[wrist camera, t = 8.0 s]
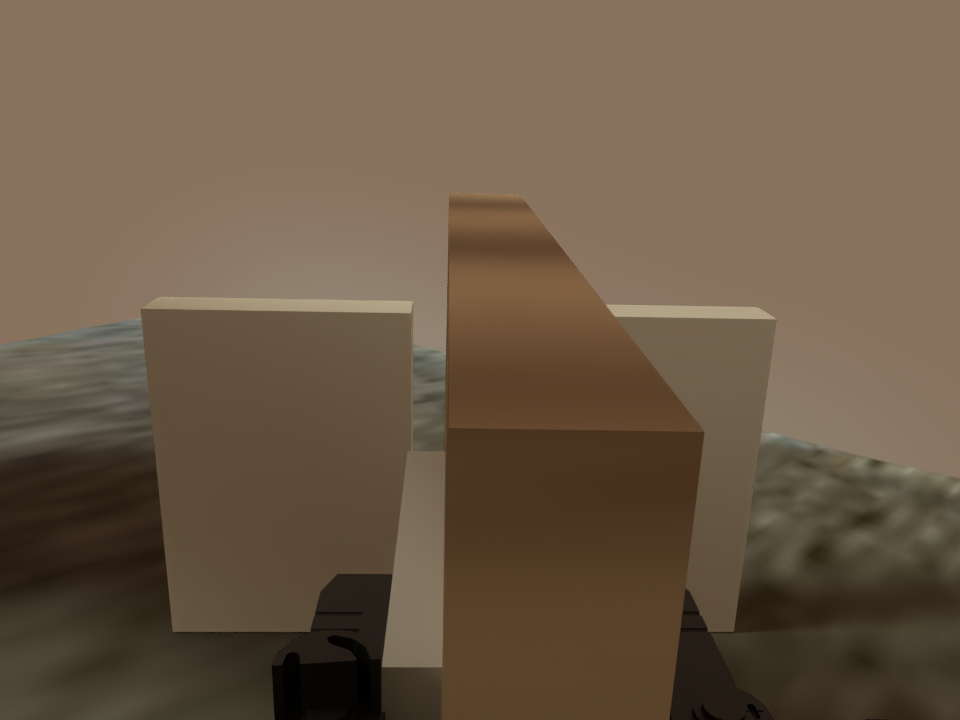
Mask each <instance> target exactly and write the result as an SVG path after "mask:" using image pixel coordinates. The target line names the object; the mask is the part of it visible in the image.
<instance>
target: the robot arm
mask: <svg viewBox="0 0 960 720" xmlns="http://www.w3.org/2000/svg"><path fill="white" fill-rule="evenodd" d="M444 493H445V452H438V451H408V452H407V460H406V469H405V477H404V485H403V494H402V502H401V511H400V519H399V527H398V536H397V544H396V552H395V561H394V569H393V574H337V575H336V576H335V577H334V578H333V579H332V580H331V581H330V582H329V583H328V584H327V585H326V586H325V587H324V588H323V589H322V590H321V591H320V595H319V599H318V603H317V607H316V610H315V616H314V618H313V622H312V626H311V632H310V633H308V634H305V635H303V636H301V637H299V638H296V639H294V640H292V641H290V642H289V643H288V644H287V645H286V646H285V647H284V648H282V649H281V650H280V651H279V652H278V654H277V656H276V658H275V660H274V662H273V664H272V678H273V696H274V714H275V720H441V703H442V646H443V570H444ZM669 720H774V719H773V717H772V715H771V714H770V712H769V711H768V709H767V708H766V706H765V705H763V704H762V703H761V702H760V701H758V700H757V699H756V698H755V697H753V696H752V695H751V694H749V693H747V692H745V691H742V690H740V689H738V688H737V687H736V684H735V682H734V680H733V678H732V676H731V674H730V672H729V670H728V668H727V666H726V664H725V662H724V660H723V658H722V656H721V654H720V652H719V650H718V648H717V646H716V644H715V642H714V640H713V638H712V636H711V634H710V632H708V628H707V626H706V624H705V622H704V619H703V617H702V616H700V611H699V609H698V607H697V605H696V603H695V601H694V599H693V597H692V595H691V593H690V591H689V590H687V589H686V588H685V596H684V604H683V612H682V620H681V628H680V636H679V645H678V653H677V661H676V669H675V677H674V685H673V693H672V702H671V710H670V718H669ZM866 720H885V719H866Z"/></svg>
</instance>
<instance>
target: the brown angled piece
mask: <svg viewBox="0 0 960 720" xmlns="http://www.w3.org/2000/svg"><path fill="white" fill-rule="evenodd" d="M446 344H447V345H446V390H445V442H444V452H445V493H444V570H443V646H442V703H441V720H669V718H670V710H671V702H672V693H673V685H674V677H675V669H676V661H677V653H678V645H679V636H680V628H681V620H682V612H683V604H684V596H685V588H686V580H687V571H688V563H689V555H690V547H691V539H692V531H693V523H694V514H695V506H696V498H697V490H698V482H699V474H700V466H701V457H702V449H703V441H704V433H705V432H704V430H703V429H702V428H701V427H700V425H699V424H698V423H697V421H696V420H695V419H694V418H693V416H692V415H691V414H690V412H689V411H688V410H687V409H686V407H685V406H684V405H683V403H682V402H681V401H680V400H679V398H678V397H677V396H676V394H675V393H674V392H673V391H672V389H671V388H670V387H669V385H668V384H667V383H666V382H665V380H664V379H663V378H662V377H661V375H660V374H659V373H658V371H657V370H656V369H655V368H654V366H653V365H652V364H651V362H650V361H649V360H648V359H647V357H646V356H645V355H644V353H643V352H642V351H641V350H640V348H639V347H638V346H637V344H636V343H635V342H634V341H633V339H632V338H631V337H630V335H629V334H628V333H627V332H626V330H625V329H624V328H623V326H622V325H621V324H620V323H619V321H618V320H617V319H616V317H615V316H614V315H613V314H612V312H611V311H610V310H609V308H608V307H607V306H606V305H605V303H604V302H603V301H602V299H600V297H599V296H598V294H597V293H596V292H595V290H594V289H593V288H592V287H591V285H590V284H589V283H588V282H587V280H586V279H585V278H584V276H583V275H582V274H581V273H580V271H579V270H578V269H577V267H576V266H575V265H574V264H573V262H572V261H571V260H570V258H569V257H568V256H567V255H566V253H565V252H564V251H563V249H562V248H561V247H560V246H559V244H558V243H557V242H556V240H555V239H554V238H553V237H552V235H551V234H550V233H549V232H548V230H547V229H546V228H545V226H544V225H543V224H542V222H541V221H540V220H539V219H538V217H537V216H536V215H535V213H534V212H533V211H532V210H531V208H530V207H529V206H528V205H527V203H526V202H525V201H524V200H523V198H522V197H521V195H515V194H514V195H513V194H479V193H449V235H448V287H447V339H446Z"/></svg>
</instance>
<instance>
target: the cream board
mask: <svg viewBox="0 0 960 720" xmlns="http://www.w3.org/2000/svg"><path fill="white" fill-rule="evenodd" d="M606 306H607V307H608V308H609V310H610V311H611V312H612V314H613V315H614V316H615V317H616V319H617V320H618V321H619V323H620V324H621V325H622V326H623V328H624V329H625V330H626V332H627V333H628V334H629V335H630V337H631V338H632V339H633V341H634V342H635V343H636V344H637V346H638V347H639V348H640V350H641V351H642V352H643V353H644V355H645V356H646V357H647V359H648V360H649V361H650V362H651V364H652V365H653V366H654V368H655V369H656V370H657V371H658V373H659V374H660V375H661V377H662V378H663V379H664V380H665V382H666V383H667V384H668V385H669V387H670V388H671V389H672V391H673V392H674V393H675V394H676V396H677V397H678V398H679V400H680V401H681V402H682V403H683V405H684V406H685V407H686V409H687V410H688V411H689V412H690V414H691V415H692V416H693V418H694V419H695V420H696V421H697V423H698V424H699V425H700V427H701V428H702V429H703V430H704V432H705V433H704V441H703V449H702V457H701V466H700V474H699V482H698V490H697V498H696V506H695V514H694V523H693V531H692V539H691V547H690V555H689V563H688V571H687V580H686V589H687V590H689V591H690V593H691V595H692V597H693V599H694V601H695V603H696V605H697V607H698V609H699V611H700V616H702V617H703V619H704V622H705V624H706V626H707V628H708V632H734V626H735V619H736V611H737V604H738V597H739V589H740V582H741V575H742V568H743V560H744V553H745V546H746V539H747V531H748V524H749V517H750V509H751V502H752V495H753V488H754V480H755V473H756V466H757V458H758V451H759V444H760V437H761V429H762V421H763V415H764V407H765V400H766V392H767V386H768V378H769V371H770V363H771V357H772V349H773V341H774V335H775V327H776V319H775V318H774V317H772V316H771V315H769V314H768V313H766V312H764V311H763V310H761V309H759V308H758V307H717V306H659V305H658V306H657V305H606ZM141 316H142V327H143V337H144V347H145V357H146V368H147V378H148V388H149V398H150V408H151V418H152V428H153V438H154V448H155V458H156V468H157V478H158V488H159V498H160V508H161V519H162V529H163V539H164V549H165V559H166V569H167V579H168V589H169V599H170V609H171V619H172V629H173V632H311V626H312V622H313V618H314V616H315V610H316V607H317V603H318V599H319V595H320V591H321V590H322V589H323V588H324V587H325V586H326V585H327V584H328V583H329V582H330V581H331V580H332V579H333V578H334V577H335V576H336V575H337V574H393V569H394V561H395V552H396V544H397V536H398V527H399V519H400V511H401V502H402V494H403V485H404V477H405V469H406V460H407V452H408V451H413V301H368V300H367V301H366V300H363V301H362V300H309V299H252V298H251V299H249V298H194V297H158V298H157V299H155V300H154V301H152V302H150V303H149V304H147V305H146V306H144V307H143V308H141Z"/></svg>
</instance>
